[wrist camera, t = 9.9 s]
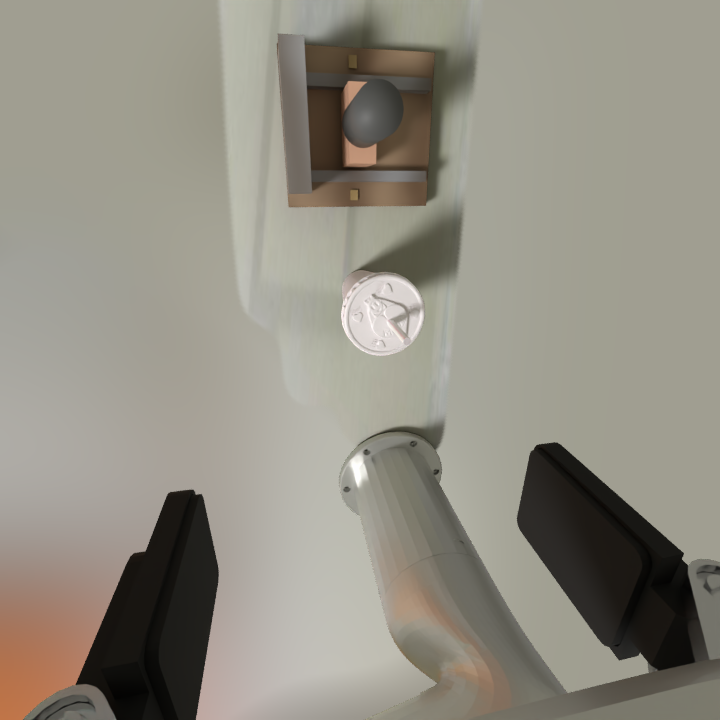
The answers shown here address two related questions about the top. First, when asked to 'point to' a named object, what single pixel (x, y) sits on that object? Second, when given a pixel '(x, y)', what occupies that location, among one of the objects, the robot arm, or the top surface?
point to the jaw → (368, 119)
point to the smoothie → (381, 311)
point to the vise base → (324, 130)
